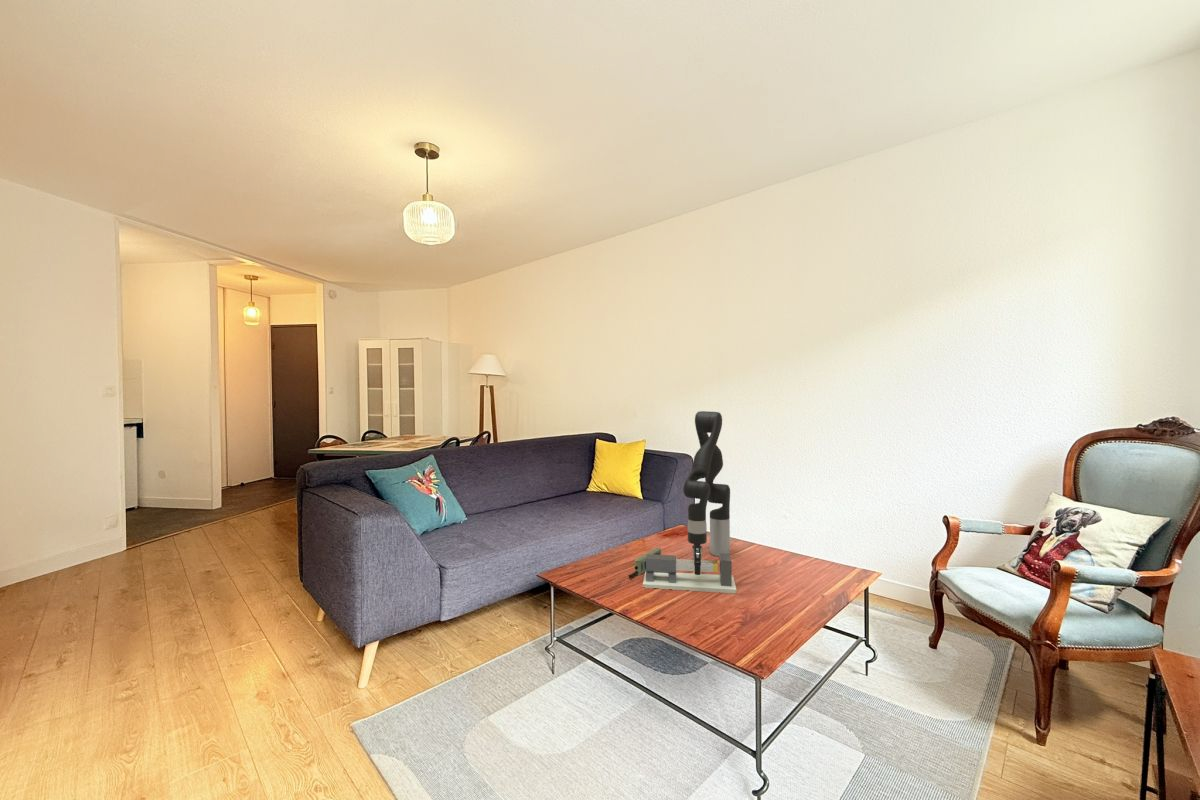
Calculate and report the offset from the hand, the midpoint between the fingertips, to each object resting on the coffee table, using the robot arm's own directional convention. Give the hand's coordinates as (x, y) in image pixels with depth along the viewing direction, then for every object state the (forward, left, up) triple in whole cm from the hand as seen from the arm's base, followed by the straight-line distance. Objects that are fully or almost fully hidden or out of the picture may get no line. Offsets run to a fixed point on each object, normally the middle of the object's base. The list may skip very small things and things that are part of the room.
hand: (697, 572), depth 192 cm
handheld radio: (-12, -22, -5) cm, 26 cm away
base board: (0, -3, -5) cm, 6 cm away
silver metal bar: (0, -4, +1) cm, 4 cm away
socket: (0, +11, -3) cm, 11 cm away
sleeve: (0, -14, -3) cm, 15 cm away
